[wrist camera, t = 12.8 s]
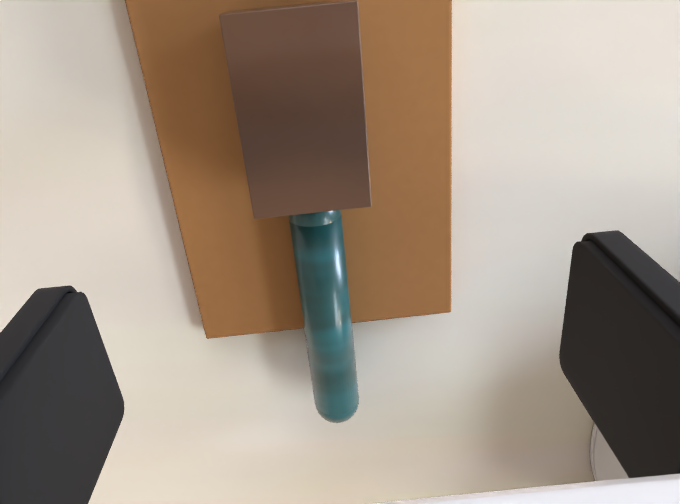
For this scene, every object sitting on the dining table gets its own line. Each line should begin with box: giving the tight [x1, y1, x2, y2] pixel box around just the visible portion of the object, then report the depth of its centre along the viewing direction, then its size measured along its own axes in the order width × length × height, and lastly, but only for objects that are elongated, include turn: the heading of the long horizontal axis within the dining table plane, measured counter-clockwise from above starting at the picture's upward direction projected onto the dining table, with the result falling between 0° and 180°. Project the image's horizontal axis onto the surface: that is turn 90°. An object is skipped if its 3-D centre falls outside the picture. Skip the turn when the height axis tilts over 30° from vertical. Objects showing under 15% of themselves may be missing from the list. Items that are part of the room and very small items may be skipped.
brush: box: [219, 0, 372, 423], centre depth 23 cm, size 19×4×4 cm, turn 5°
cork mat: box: [125, 0, 452, 339], centre depth 23 cm, size 20×12×1 cm, turn 5°
